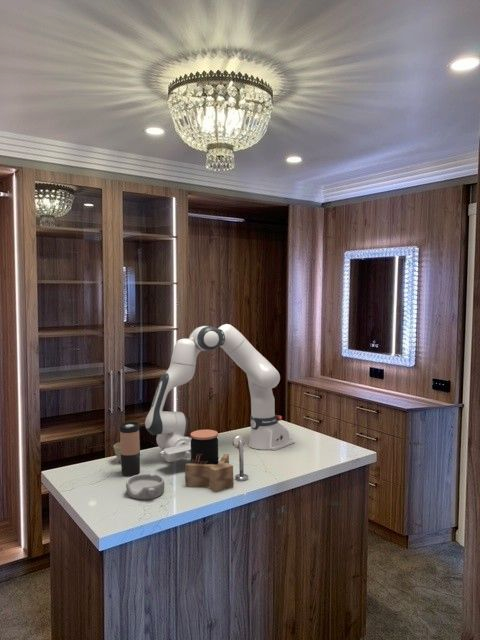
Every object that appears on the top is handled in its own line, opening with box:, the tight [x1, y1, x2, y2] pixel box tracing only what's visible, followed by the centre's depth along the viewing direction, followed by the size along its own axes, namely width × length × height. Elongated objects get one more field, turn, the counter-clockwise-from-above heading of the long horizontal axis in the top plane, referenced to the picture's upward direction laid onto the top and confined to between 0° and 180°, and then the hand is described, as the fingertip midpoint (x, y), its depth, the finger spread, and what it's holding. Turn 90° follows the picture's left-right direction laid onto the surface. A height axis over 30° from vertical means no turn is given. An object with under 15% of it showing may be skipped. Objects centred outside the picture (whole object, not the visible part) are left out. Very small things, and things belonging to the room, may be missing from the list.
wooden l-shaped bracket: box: [184, 453, 234, 493], centre depth 182 cm, size 20×13×8 cm, turn 125°
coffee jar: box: [190, 429, 220, 465], centre depth 187 cm, size 11×11×18 cm
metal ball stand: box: [231, 434, 249, 482], centre depth 187 cm, size 5×5×16 cm
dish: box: [125, 473, 165, 500], centre depth 176 cm, size 14×14×5 cm
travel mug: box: [119, 421, 141, 478], centre depth 194 cm, size 8×8×20 cm
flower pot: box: [113, 442, 121, 463], centre depth 209 cm, size 10×10×7 cm
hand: (196, 456), depth 193 cm, fingers closed
